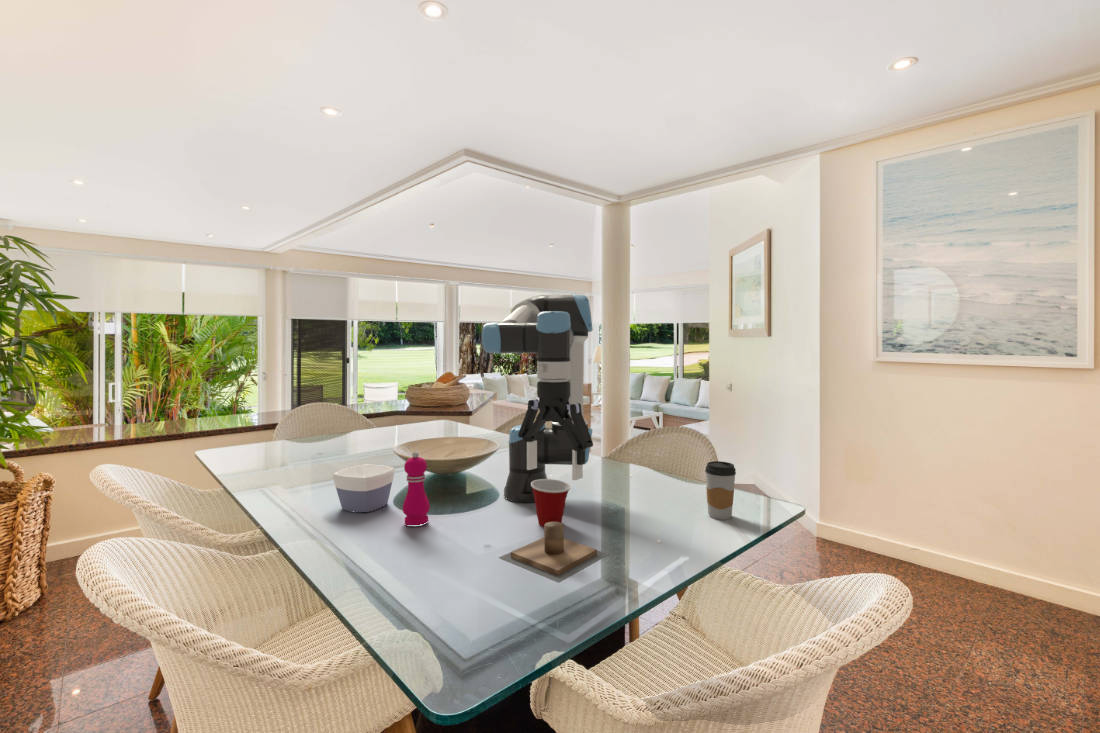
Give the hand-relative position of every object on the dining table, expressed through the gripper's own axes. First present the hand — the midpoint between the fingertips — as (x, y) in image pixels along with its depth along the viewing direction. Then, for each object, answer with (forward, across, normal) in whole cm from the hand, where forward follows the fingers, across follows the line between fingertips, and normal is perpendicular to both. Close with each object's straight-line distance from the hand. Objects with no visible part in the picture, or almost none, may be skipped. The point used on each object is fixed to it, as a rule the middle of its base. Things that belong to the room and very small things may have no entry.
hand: (553, 473), depth 115 cm
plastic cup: (+20, -14, +15) cm, 29 cm away
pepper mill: (+20, -44, -7) cm, 49 cm away
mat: (+20, 0, 0) cm, 20 cm away
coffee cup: (+20, +17, +53) cm, 59 cm away
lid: (+19, 0, 0) cm, 19 cm away
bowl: (+20, -68, -9) cm, 72 cm away
